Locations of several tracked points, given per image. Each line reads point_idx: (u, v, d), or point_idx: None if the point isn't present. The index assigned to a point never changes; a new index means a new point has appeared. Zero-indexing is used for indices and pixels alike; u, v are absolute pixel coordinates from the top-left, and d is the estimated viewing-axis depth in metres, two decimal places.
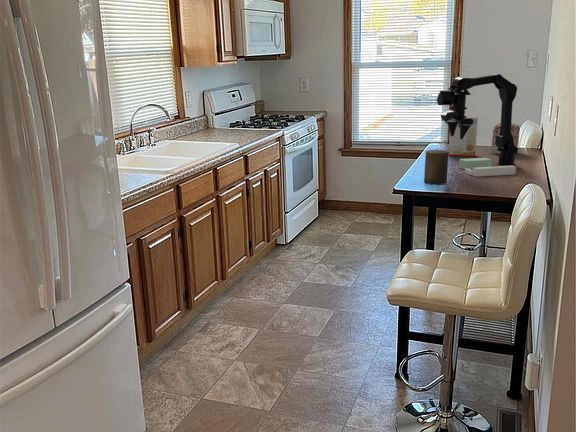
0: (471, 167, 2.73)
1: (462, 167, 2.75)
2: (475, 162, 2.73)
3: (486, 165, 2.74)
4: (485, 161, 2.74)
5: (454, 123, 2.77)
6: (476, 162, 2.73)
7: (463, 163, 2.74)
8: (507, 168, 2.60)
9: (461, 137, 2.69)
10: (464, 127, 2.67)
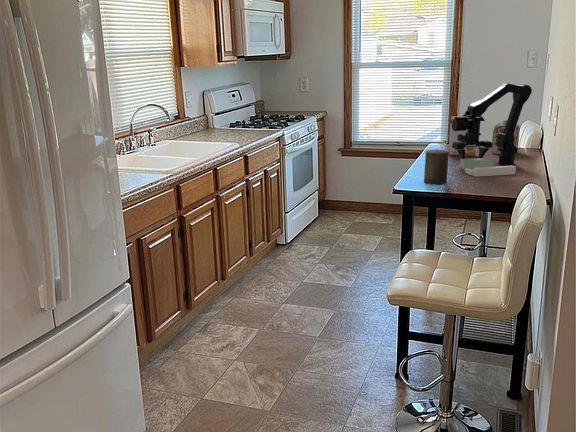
0: (471, 167, 2.73)
1: (462, 167, 2.75)
2: (475, 162, 2.72)
3: (487, 166, 2.73)
4: (486, 161, 2.72)
5: (482, 149, 2.78)
6: (476, 162, 2.72)
7: (463, 163, 2.74)
8: (507, 168, 2.60)
9: None
10: None
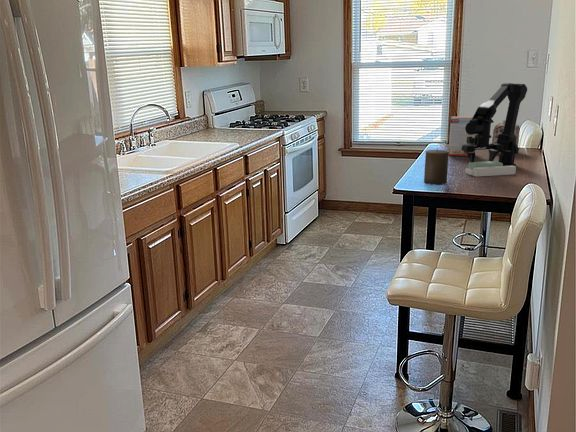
0: None
1: None
2: (485, 166, 2.64)
3: None
4: (495, 164, 2.65)
5: (492, 152, 2.70)
6: (486, 165, 2.64)
7: (473, 166, 2.65)
8: (507, 168, 2.60)
9: None
10: (471, 154, 2.68)
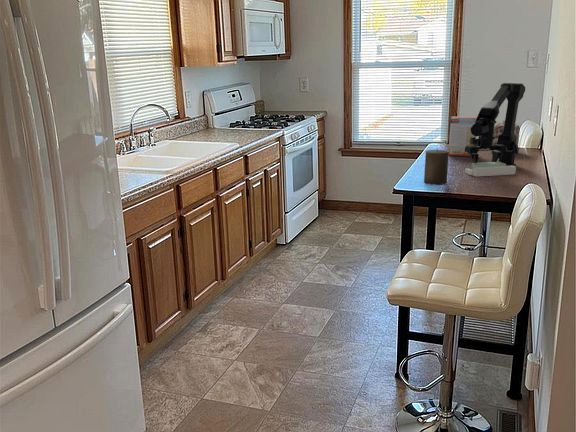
0: None
1: None
2: (488, 166, 2.61)
3: None
4: (499, 165, 2.62)
5: (496, 153, 2.67)
6: (490, 166, 2.61)
7: (476, 167, 2.62)
8: (507, 168, 2.60)
9: None
10: None
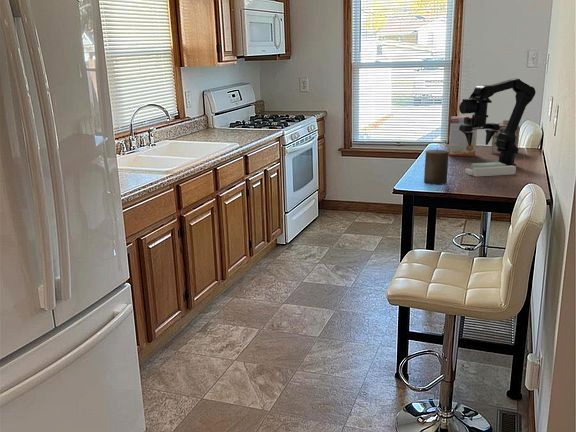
0: None
1: None
2: None
3: None
4: None
5: (489, 132, 2.74)
6: (489, 166, 2.62)
7: (476, 167, 2.62)
8: (507, 168, 2.60)
9: (468, 144, 2.74)
10: (468, 134, 2.72)
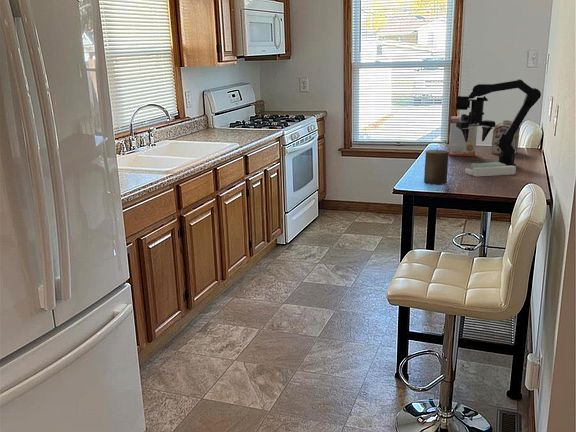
0: None
1: None
2: None
3: None
4: None
5: (485, 129, 2.83)
6: (489, 166, 2.62)
7: (476, 167, 2.62)
8: (507, 168, 2.60)
9: (465, 140, 2.84)
10: (465, 130, 2.82)
